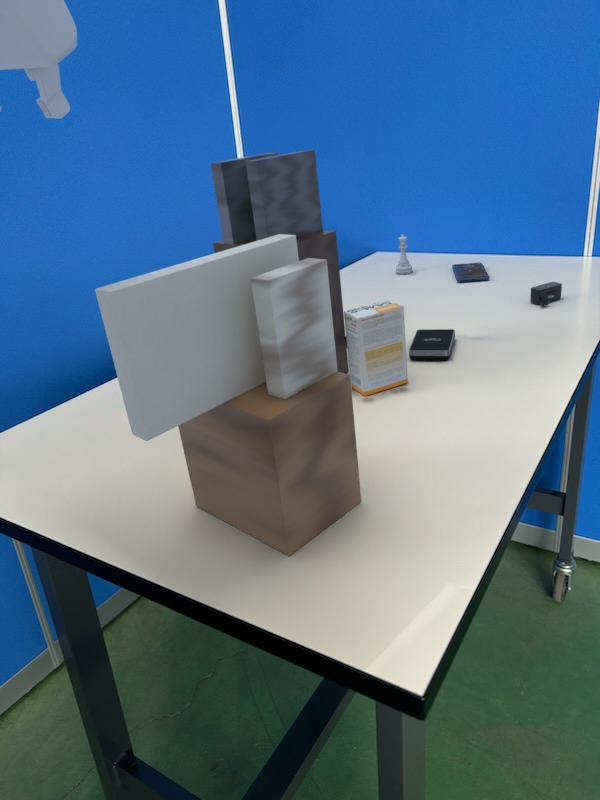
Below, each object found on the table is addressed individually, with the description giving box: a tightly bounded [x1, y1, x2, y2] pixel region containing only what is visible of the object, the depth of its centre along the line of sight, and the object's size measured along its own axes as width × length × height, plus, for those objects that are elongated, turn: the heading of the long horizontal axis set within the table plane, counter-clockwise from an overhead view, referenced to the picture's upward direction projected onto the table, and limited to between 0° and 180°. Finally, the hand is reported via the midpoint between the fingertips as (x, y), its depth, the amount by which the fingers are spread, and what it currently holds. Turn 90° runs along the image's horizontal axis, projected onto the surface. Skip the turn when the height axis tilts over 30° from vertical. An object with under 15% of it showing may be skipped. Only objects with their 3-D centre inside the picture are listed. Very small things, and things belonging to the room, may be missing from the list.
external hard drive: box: [408, 328, 456, 361], centre depth 111 cm, size 7×11×2 cm, turn 162°
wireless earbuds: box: [529, 281, 563, 307], centre depth 128 cm, size 5×7×3 cm, turn 115°
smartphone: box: [451, 262, 491, 283], centre depth 155 cm, size 8×1×15 cm
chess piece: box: [395, 233, 414, 276], centre depth 162 cm, size 4×4×10 cm
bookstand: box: [210, 149, 350, 374], centre depth 101 cm, size 12×16×36 cm
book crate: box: [177, 258, 362, 557], centre depth 68 cm, size 12×16×28 cm
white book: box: [94, 234, 299, 442], centre depth 61 cm, size 22×2×14 cm, turn 136°
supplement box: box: [343, 299, 409, 397], centre depth 98 cm, size 8×5×13 cm, turn 114°
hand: (24, 115), depth 55 cm, fingers open, 8 cm apart
